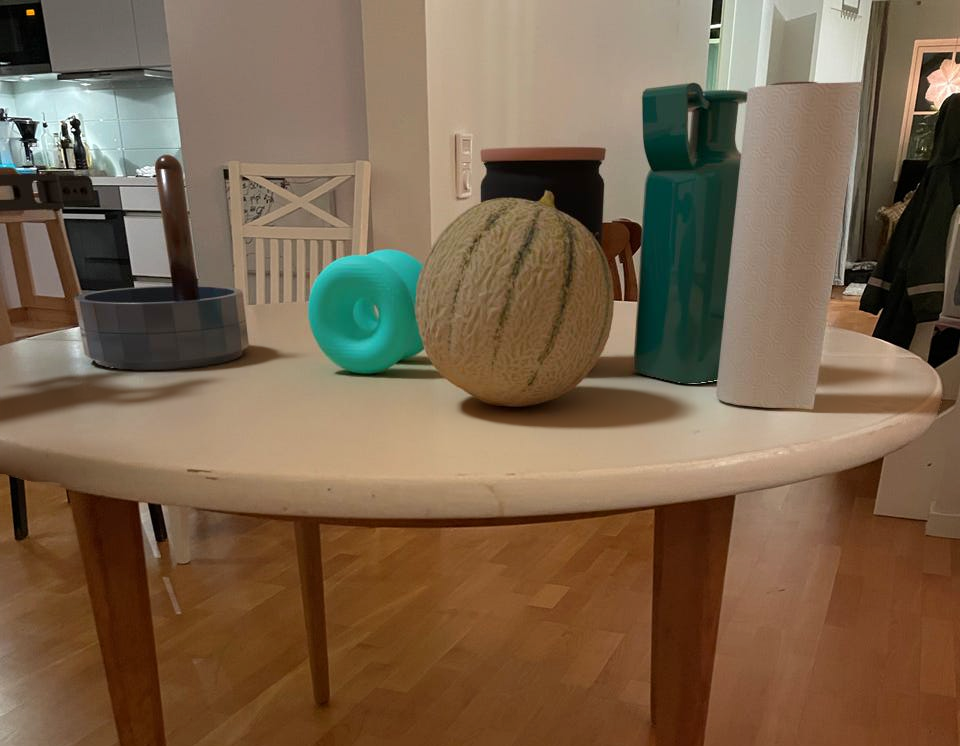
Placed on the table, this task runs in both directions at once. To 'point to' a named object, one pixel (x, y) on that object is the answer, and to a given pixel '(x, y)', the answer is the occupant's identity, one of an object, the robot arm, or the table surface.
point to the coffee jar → (549, 179)
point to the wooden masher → (176, 228)
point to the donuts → (367, 310)
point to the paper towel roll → (785, 240)
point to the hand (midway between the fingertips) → (59, 190)
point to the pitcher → (686, 230)
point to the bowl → (162, 327)
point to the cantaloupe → (515, 301)
